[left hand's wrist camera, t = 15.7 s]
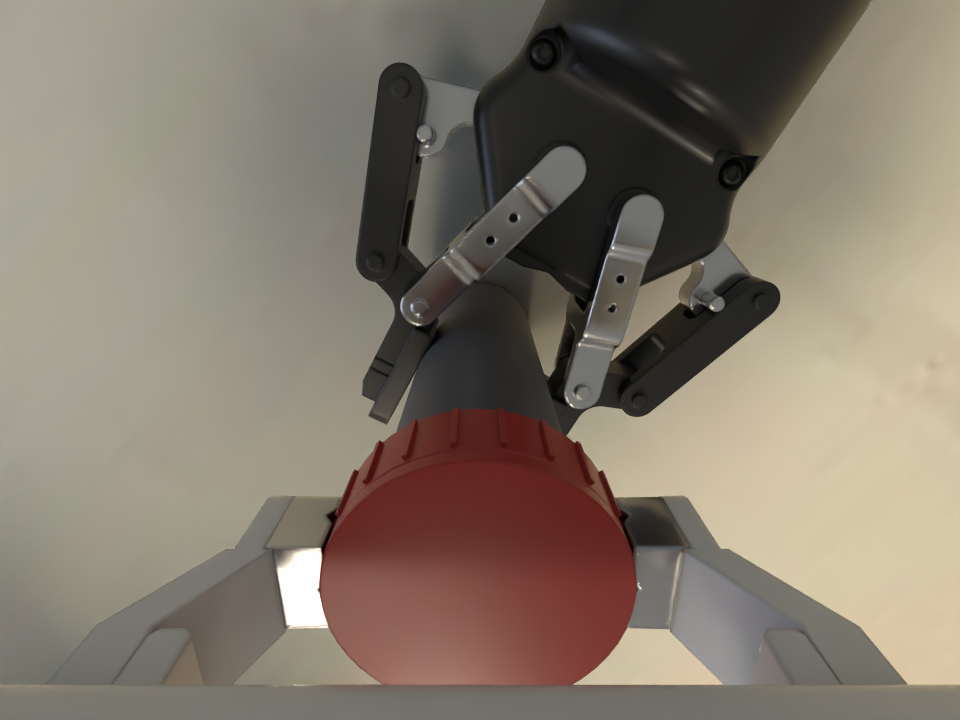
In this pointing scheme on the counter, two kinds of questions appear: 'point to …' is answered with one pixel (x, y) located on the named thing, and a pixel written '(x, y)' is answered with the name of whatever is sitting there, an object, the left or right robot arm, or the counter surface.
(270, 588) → the left robot arm
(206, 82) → the counter surface
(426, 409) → the jar
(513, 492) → the lid
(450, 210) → the counter surface
